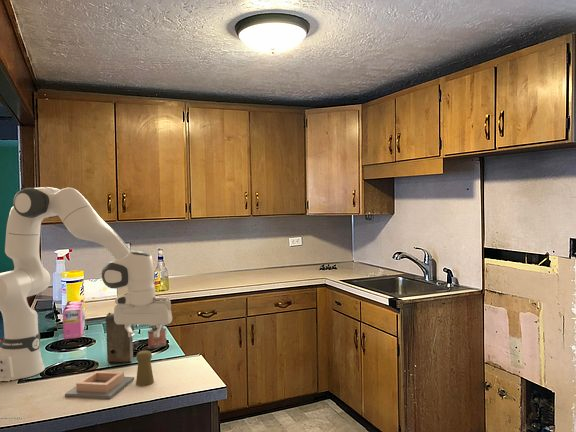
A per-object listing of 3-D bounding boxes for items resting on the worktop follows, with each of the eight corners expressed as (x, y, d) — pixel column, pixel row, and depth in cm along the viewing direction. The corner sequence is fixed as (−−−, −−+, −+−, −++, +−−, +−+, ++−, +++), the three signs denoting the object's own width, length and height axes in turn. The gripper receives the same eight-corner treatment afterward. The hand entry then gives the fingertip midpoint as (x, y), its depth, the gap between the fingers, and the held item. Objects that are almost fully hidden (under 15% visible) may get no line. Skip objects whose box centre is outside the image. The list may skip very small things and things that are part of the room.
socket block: (65, 396, 153) (64, 386, 153) (93, 377, 168) (93, 368, 168) (110, 399, 150) (109, 388, 150) (134, 379, 166) (134, 370, 166)
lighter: (164, 343, 207) (163, 321, 207) (167, 345, 205) (167, 322, 204) (147, 347, 202) (146, 324, 202) (150, 349, 200) (149, 326, 199)
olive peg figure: (157, 381, 164) (156, 350, 164) (144, 387, 159) (143, 355, 158) (145, 378, 167) (144, 347, 167) (132, 384, 162) (131, 352, 162)
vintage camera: (142, 352, 198) (140, 305, 198) (131, 363, 182) (129, 312, 182) (119, 353, 198) (117, 306, 198) (106, 364, 182) (104, 313, 182)
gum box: (68, 326, 240) (67, 300, 240) (85, 325, 243) (84, 299, 242) (63, 339, 217) (61, 310, 217) (81, 337, 220) (80, 309, 220)
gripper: (174, 295, 163) (175, 334, 164) (120, 295, 167) (122, 333, 167) (166, 299, 157) (168, 339, 157) (110, 299, 160) (112, 339, 161)
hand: (144, 336), depth 162 cm, fingers open, 8 cm apart
